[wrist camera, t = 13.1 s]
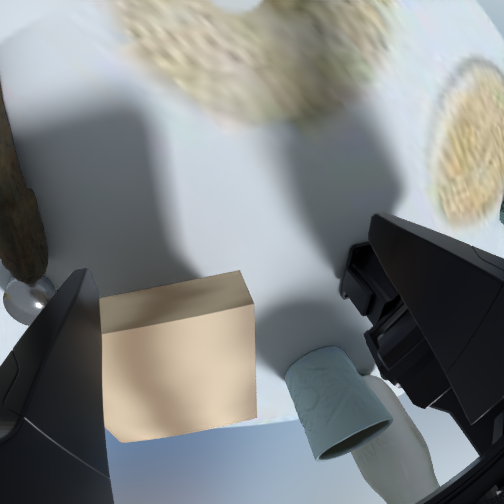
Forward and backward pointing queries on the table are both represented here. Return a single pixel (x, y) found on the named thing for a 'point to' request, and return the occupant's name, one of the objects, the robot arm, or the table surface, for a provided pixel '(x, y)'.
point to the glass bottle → (396, 454)
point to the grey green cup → (334, 403)
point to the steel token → (27, 298)
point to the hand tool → (18, 215)
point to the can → (502, 214)
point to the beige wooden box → (178, 358)
